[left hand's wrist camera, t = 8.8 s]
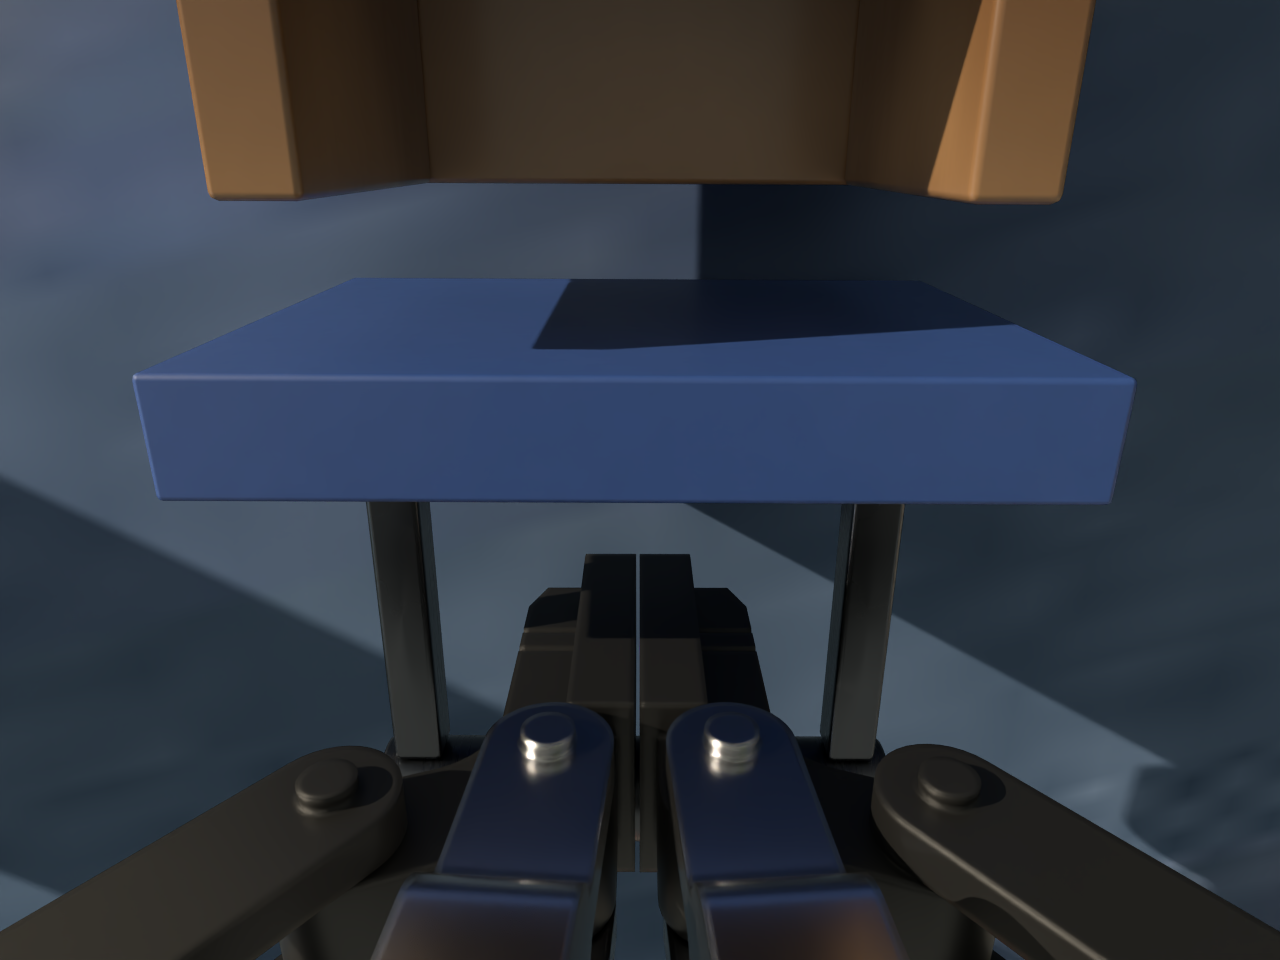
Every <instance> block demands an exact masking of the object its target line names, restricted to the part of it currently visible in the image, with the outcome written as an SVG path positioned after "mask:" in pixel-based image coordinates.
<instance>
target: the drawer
mask: <svg viewBox="0 0 1280 960" xmlns="http://www.w3.org/2000/svg"><path fill="white" fill-rule="evenodd" d="M176 2H177V8H178V14H179V20H180V26H181V32H182V38H183V44H184V50H185V56H186V62H187V68H188V74H189V80H190V86H191V92H192V98H193V104H194V110H195V116H196V122H197V128H198V134H199V140H200V146H201V152H202V158H203V164H204V170H205V176H206V182H207V188H208V192H209V194H210V197H212V198H214V199H216V200H219V201H301V200H308V199H316V198H323V197H330V196H337V195H344V194H351V193H359V192H366V191H373V190H380V189H387V188H395V187H402V186H409V185H416V184H423V183H558V184H760V185H852V186H858V187H865V188H871V189H878V190H885V191H891V192H898V193H904V194H911V195H917V196H924V197H930V198H937V199H943V200H950V201H957V202H963V203H970V204H1007V205H1051V204H1053V203H1056V202H1058V201H1059V200H1060V199H1061V196H1062V194H1063V189H1064V183H1065V178H1066V172H1067V166H1068V160H1069V154H1070V148H1071V143H1072V137H1073V131H1074V125H1075V119H1076V113H1077V108H1078V102H1079V96H1080V90H1081V84H1082V78H1083V73H1084V67H1085V61H1086V55H1087V49H1088V44H1089V38H1090V32H1091V26H1092V20H1093V14H1094V9H1095V3H1096V0H176ZM132 381H133V386H134V391H135V395H136V400H137V405H138V410H139V414H140V419H141V424H142V428H143V433H144V438H145V443H146V447H147V452H148V457H149V461H150V466H151V471H152V476H153V480H154V485H155V490H156V494H157V497H158V498H159V499H160V500H163V501H359V502H366V506H367V514H368V523H369V531H370V540H371V548H372V557H373V565H374V574H375V582H376V590H377V599H378V607H379V616H380V624H381V633H382V641H383V650H384V658H385V666H386V675H387V683H388V692H389V700H390V709H391V717H392V726H393V734H394V737H393V738H392V739H391V740H390V741H389V743H388V745H387V747H386V750H385V754H387V755H388V756H390V757H391V758H392V759H393V760H394V761H395V762H396V763H397V765H398V766H399V768H400V771H401V774H402V777H403V776H407V775H411V774H416V773H420V772H424V771H429V770H433V769H437V768H441V767H444V766H448V765H451V764H453V763H456V762H458V761H461V760H463V759H465V758H467V757H468V756H470V755H472V754H474V753H475V752H477V751H478V750H480V748H481V746H482V743H483V740H484V738H485V736H486V735H449V732H450V724H449V713H448V702H447V691H446V679H445V668H444V657H443V646H442V635H441V624H440V613H439V601H438V590H437V579H436V568H435V557H434V546H433V535H432V523H431V512H430V502H577V503H796V504H842V508H841V518H840V528H839V539H838V549H837V560H836V570H835V581H834V591H833V601H832V612H831V622H830V633H829V643H828V653H827V664H826V674H825V685H824V695H823V705H822V716H821V726H820V734H821V737H804V736H795V738H796V740H797V743H798V746H799V748H800V751H801V754H802V755H803V756H805V757H807V758H809V759H811V760H813V761H815V762H817V763H820V764H823V765H825V766H829V767H832V768H836V769H839V770H844V771H848V772H852V773H857V774H861V775H865V776H870V777H875V771H876V768H877V766H878V764H879V763H880V761H881V760H882V759H883V758H884V757H885V753H884V750H883V748H882V746H881V744H880V742H879V741H878V740H877V739H876V733H877V725H878V717H879V709H880V701H881V693H882V685H883V677H884V669H885V661H886V653H887V645H888V637H889V629H890V621H891V613H892V605H893V597H894V589H895V581H896V573H897V565H898V557H899V549H900V541H901V533H902V525H903V517H904V509H905V504H1014V505H1107V504H1110V503H1111V501H1112V499H1113V494H1114V490H1115V485H1116V481H1117V476H1118V471H1119V467H1120V462H1121V458H1122V453H1123V448H1124V444H1125V439H1126V435H1127V430H1128V425H1129V421H1130V416H1131V412H1132V407H1133V402H1134V398H1135V393H1136V389H1137V381H1136V379H1134V378H1132V377H1130V376H1128V375H1126V374H1123V373H1121V372H1119V371H1117V370H1115V369H1112V368H1110V367H1108V366H1106V365H1104V364H1101V363H1099V362H1097V361H1095V360H1093V359H1091V358H1088V357H1086V356H1084V355H1082V354H1080V353H1077V352H1075V351H1073V350H1071V349H1069V348H1066V347H1064V346H1062V345H1060V344H1058V343H1055V342H1053V341H1051V340H1049V339H1047V338H1044V337H1042V336H1040V335H1038V334H1036V333H1034V332H1031V331H1029V330H1027V329H1025V328H1023V327H1020V326H1018V325H1016V324H1014V323H1012V322H1009V321H1007V320H1005V319H1003V318H1001V317H998V316H996V315H994V314H992V313H990V312H988V311H985V310H983V309H981V308H979V307H977V306H974V305H972V304H970V303H968V302H966V301H963V300H961V299H959V298H957V297H955V296H952V295H950V294H948V293H946V292H944V291H941V290H939V289H937V288H935V287H933V286H931V285H928V284H926V283H924V282H922V281H874V280H668V279H461V278H354V279H351V280H349V281H347V282H344V283H342V284H340V285H338V286H335V287H333V288H331V289H328V290H326V291H324V292H322V293H319V294H317V295H315V296H312V297H310V298H308V299H306V300H303V301H301V302H299V303H296V304H294V305H292V306H289V307H287V308H285V309H283V310H280V311H278V312H276V313H273V314H271V315H269V316H267V317H264V318H262V319H260V320H257V321H255V322H253V323H251V324H248V325H246V326H244V327H241V328H239V329H237V330H235V331H232V332H230V333H228V334H225V335H223V336H221V337H218V338H216V339H214V340H212V341H209V342H207V343H205V344H202V345H200V346H198V347H196V348H193V349H191V350H189V351H186V352H184V353H182V354H180V355H177V356H175V357H173V358H170V359H168V360H166V361H163V362H161V363H159V364H157V365H154V366H152V367H150V368H147V369H145V370H143V371H141V372H138V373H136V374H134V376H133V380H132ZM635 841H640V736H636V773H635Z"/></svg>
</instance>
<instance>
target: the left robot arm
mask: <svg viewBox="0 0 1280 960" xmlns="http://www.w3.org/2000/svg"><path fill="white" fill-rule="evenodd" d="M635 773H636V554H586V556H585V563H584V571H583V579H582V586H581V588H548V589H547V590H546V591H545V592H544V593H543V594H542V595H541V596H539V597H538V598H537V599H536V600H535V601H534V602H533V603H532V604H531V605H530V606H529V609H528V614H527V618H526V622H525V626H524V633H523V635H522V639H521V643H520V651H519V652H518V656H517V660H516V664H515V668H514V673H513V677H512V681H511V685H510V689H509V694H508V698H507V702H506V706H505V711H504V715H503V717H502V718H501V719H499V720H498V721H497V722H496V723H495V724H494V725H493V726H492V727H491V728H490V730H489V731H488V732H487V734H486V736H485V738H484V740H483V743H482V746H481V748H480V750H478V751H477V752H475V753H474V754H472V755H470V756H468V757H467V758H465V759H463V760H461V761H458V762H456V763H453V764H451V765H448V766H444V767H441V768H437V769H433V770H429V771H424V772H420V773H416V774H411V775H407V776H403V777H402V774H401V771H400V768H399V766H398V765H397V763H396V762H395V761H394V760H393V759H392V758H391V757H390V756H388V755H387V754H385V753H383V752H381V751H379V750H376V749H373V748H368V747H362V746H340V747H333V748H327V749H323V750H320V751H316V752H313V753H310V754H308V755H305V756H303V757H300V758H298V759H296V760H295V761H293V762H291V763H289V764H287V765H285V766H284V767H282V768H280V769H279V770H277V771H275V772H273V773H272V774H270V775H268V776H267V777H265V778H263V779H261V780H260V781H258V782H256V783H255V784H253V785H251V786H249V787H248V788H246V789H244V790H243V791H241V792H239V793H237V794H236V795H234V796H232V797H230V798H229V799H227V800H225V801H224V802H222V803H220V804H218V805H217V806H215V807H213V808H212V809H210V810H208V811H206V812H205V813H203V814H201V815H200V816H198V817H196V818H194V819H193V820H191V821H189V822H188V823H186V824H184V825H182V826H181V827H179V828H177V829H176V830H174V831H172V832H170V833H169V834H167V835H165V836H164V837H162V838H160V839H158V840H157V841H155V842H153V843H152V844H150V845H148V846H146V847H145V848H143V849H141V850H140V851H138V852H136V853H134V854H133V855H131V856H129V857H128V858H126V859H124V860H122V861H121V862H119V863H117V864H116V865H114V866H112V867H110V868H109V869H107V870H105V871H104V872H102V873H100V874H98V875H97V876H95V877H93V878H92V879H90V880H88V881H86V882H85V883H83V884H81V885H80V886H78V887H76V888H74V889H73V890H71V891H69V892H68V893H66V894H64V895H62V896H61V897H59V898H57V899H56V900H54V901H52V902H50V903H49V904H47V905H45V906H44V907H42V908H40V909H38V910H37V911H35V912H33V913H31V914H30V915H28V916H26V917H25V918H23V919H21V920H19V921H18V922H16V923H14V924H13V925H11V926H9V927H7V928H6V929H4V930H2V931H1V932H0V960H255V959H256V958H258V957H259V956H260V955H262V954H263V953H264V952H266V951H267V950H268V949H270V948H271V947H272V946H274V945H275V944H276V943H278V942H279V943H280V948H281V952H282V954H281V955H280V956H278V957H277V958H276V959H275V960H614V954H615V946H616V933H617V924H616V888H617V872H635ZM640 872H657V883H658V903H659V908H660V911H661V914H662V916H663V918H664V925H663V932H664V945H665V954H666V960H1005V959H1004V958H1003V957H1002V956H1000V955H999V954H998V953H996V952H995V951H994V950H993V945H994V940H995V938H997V939H998V940H1000V941H1001V942H1002V943H1004V944H1005V945H1006V946H1008V947H1009V948H1010V949H1012V950H1013V951H1014V952H1016V953H1017V954H1018V955H1020V956H1021V957H1022V958H1024V959H1025V960H1280V932H1279V931H1278V930H1276V929H1274V928H1273V927H1271V926H1269V925H1267V924H1266V923H1264V922H1262V921H1260V920H1259V919H1257V918H1255V917H1254V916H1252V915H1250V914H1248V913H1247V912H1245V911H1243V910H1242V909H1240V908H1238V907H1236V906H1235V905H1233V904H1231V903H1230V902H1228V901H1226V900H1224V899H1223V898H1221V897H1219V896H1218V895H1216V894H1214V893H1212V892H1211V891H1209V890H1207V889H1206V888H1204V887H1202V886H1200V885H1199V884H1197V883H1195V882H1194V881H1192V880H1190V879H1188V878H1187V877H1185V876H1183V875H1182V874H1180V873H1178V872H1176V871H1175V870H1173V869H1171V868H1170V867H1168V866H1166V865H1164V864H1163V863H1161V862H1159V861H1158V860H1156V859H1154V858H1152V857H1151V856H1149V855H1147V854H1146V853H1144V852H1142V851H1140V850H1139V849H1137V848H1135V847H1134V846H1132V845H1130V844H1128V843H1127V842H1125V841H1123V840H1122V839H1120V838H1118V837H1116V836H1115V835H1113V834H1111V833H1110V832H1108V831H1106V830H1104V829H1103V828H1101V827H1099V826H1098V825H1096V824H1094V823H1092V822H1091V821H1089V820H1087V819H1086V818H1084V817H1082V816H1080V815H1079V814H1077V813H1075V812H1074V811H1072V810H1070V809H1068V808H1067V807H1065V806H1063V805H1062V804H1060V803H1058V802H1056V801H1055V800H1053V799H1051V798H1050V797H1048V796H1046V795H1044V794H1043V793H1041V792H1039V791H1037V790H1036V789H1034V788H1032V787H1031V786H1029V785H1027V784H1025V783H1024V782H1022V781H1020V780H1019V779H1017V778H1015V777H1013V776H1012V775H1010V774H1008V773H1007V772H1005V771H1003V770H1001V769H1000V768H998V767H996V766H995V765H993V764H991V763H989V762H988V761H986V760H984V759H982V758H980V757H978V756H976V755H974V754H971V753H969V752H966V751H964V750H960V749H957V748H953V747H949V746H943V745H935V744H915V745H909V746H905V747H902V748H898V749H896V750H894V751H892V752H890V753H889V754H887V755H886V756H885V757H884V758H883V759H882V760H881V761H880V763H879V764H878V766H877V768H876V771H875V777H870V776H865V775H861V774H857V773H852V772H848V771H844V770H839V769H836V768H832V767H829V766H825V765H823V764H820V763H817V762H815V761H813V760H811V759H809V758H807V757H805V756H803V755H802V754H801V751H800V748H799V746H798V743H797V740H796V738H795V736H794V734H793V732H792V731H791V729H790V728H789V727H788V726H787V725H786V724H785V723H784V722H783V721H782V720H781V719H779V718H778V717H776V716H775V715H773V714H772V713H770V709H769V704H768V700H767V696H766V691H765V687H764V682H763V678H762V674H761V669H760V665H759V660H758V656H757V652H756V651H755V643H754V638H753V634H752V633H751V625H750V621H749V616H748V612H747V608H746V606H745V605H744V604H743V603H742V602H741V601H740V600H739V599H738V598H737V597H736V596H735V595H734V594H733V593H732V592H731V591H730V590H729V589H728V588H694V584H693V575H692V567H691V559H690V554H640Z"/></svg>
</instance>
